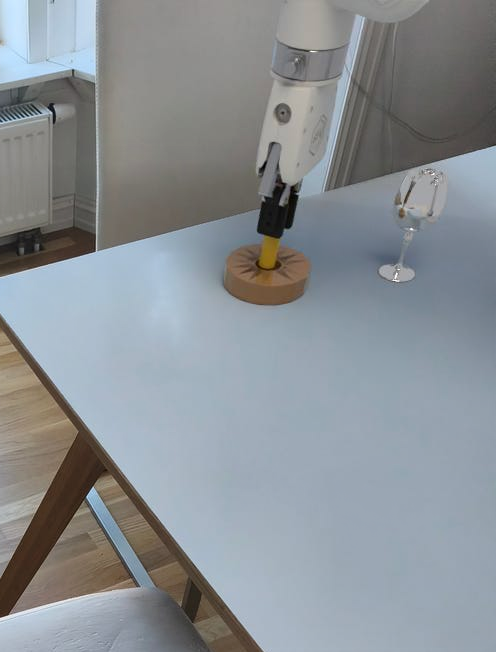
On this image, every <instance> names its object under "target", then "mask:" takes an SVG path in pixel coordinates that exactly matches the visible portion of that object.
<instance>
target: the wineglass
mask: <svg viewBox="0 0 496 652" xmlns="http://www.w3.org/2000/svg"><path fill="white" fill-rule="evenodd" d="M448 185H449V176H448V175H447V174H446V173H445V172H444V171H442V170H439V169H437V168H432V167H431V168H430V167H415V168H412V169H410V170H408V172H407V173H406V175H405V177H404V178H403V180H402V182H401V184H400V186H399V187H398V190H397V192H396V195H395V197H394V200H393V203H392V209H391V217H392V220H393V222H394V224H395V225H396V226H397V227H398V228H399V229H400V230H403V231H405V232H406V233H404V236H403V237H402V238H403V239H402V249H401V253H400V256H399V258H398V261H397V263H386V264H383V265H381V266H380V267H379V269H378V274H379V275H380V277H382V278H383V279H385V280H388V281H390V282H395V283H405V282H411V281H412V280H413V279H414V278H415V277H416V272H415V270H414V269H413V268H411V267H410V266H408V265H404V263H403V261H404V258H405V254H406V251H407V249H408V248H409V245H410V243H412V241H413V237H414V234H413V233H419V232H424V231H427V230H429V229H431V228H432V227H434V225H435V224H436V223H437V222H438V221H439V219H440V218H441V216H442V213H443V211H444V208H445V205H446V201H447V196H448Z"/></svg>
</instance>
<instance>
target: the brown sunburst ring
mask: <svg viewBox="0 0 496 652" xmlns="http://www.w3.org/2000/svg"><path fill="white" fill-rule="evenodd" d="M262 244H263V243H253V244H248V245H243V246H240V247H238V248H236V249H234V250H233V251H231V252H230V253H229V255H228V256H227V257H226V259H225V263H224V270H223V275H222V276H223V277H222V278H223V280H222V284H223V286H224V288H225V290H226V291H227V292H228V293H229V294H230V295H231V296H232V297H235V298H236V299H239V300H240V301H243V302H246V303H249V304H254V305H261V306H278V305H284V304H288V303H291V302H294V301H296V300H297V299H300V298H301V297H302V296H303V295H304V294H305V292H306V290H307V288H308V285H309V281H310V277H311V273H312V266H311V265H312V264H311V261H310V259H309V258H307V257H306V255H304V254H303V253H302V252H300V251H298V250H297V249H294V248H291V247H289V246H285V245H280V244H279V248H278V252H277V257H276V262H275V266H274V267H273V268H270V269H265V268H262V267H260V266H259V259H260V254H261V249H262Z"/></svg>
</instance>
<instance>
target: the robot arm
mask: <svg viewBox="0 0 496 652" xmlns="http://www.w3.org/2000/svg"><path fill="white" fill-rule="evenodd" d="M428 2H430V0H281V7H280V11H279V18H278V22H277V23H278V24H277V29H276V34H275V40H274V47H273V52H272V59H271V64H270V70H269V75H270V76H271V78H272V79H274V80H273V84H272V88H271V90H270V95H269V99H268V104H267V107H266V111H265V116H264V119H263V124H262V129H261V133H260V137H259V143H258V148H257V153H256V154H257V155H256V161H255V162H256V163H255V170H254V171H255V175H256V177H257V178H258V179H261V181H260V184H259V187H258V191H257V195H259V196H261V199H260V200H261V201H260V202H261V204H260V210H259V215H258V221H257V225H256V233H257V234H259V235H262V236H264V235H266V236H269V237H273V238H276V239H280V240H281V239H282V237H283V236H284V233H285V232H284V231H285V230H290V229H291V228H292V227H293V225H294V219H295V216H296V212H297V206H298V202H299V196H300V194H299V193H300V192H301V189H302V187H303V182H304V178H305V177H306V176H307V175H308V174H309V173H311V171H312V170H314V168H316V167H317V165H319V164H320V163H321V162H322V160H323V159H324V158H325V155H326V152H327V147H328V143H329V139H330V132H331V127H332V122H333V116H334V111H335V107H336V100H337V93H338V86H339V81H340V80H341V79H342V76H343V72H344V68H345V64H346V59H347V55H348V51H349V47H350V43H351V38H352V35H353V30H354V25H355V20H356V17H357V15H358V16H360V17H363V18H364V19H368V20H371V21H374V22H378V23H382V24H392V23H398V22H401V21H404V20H406V19H408V18H410V17H412V16H413V15H415V14H416V13H417V12H418V11H420V10H421V9H422V8H423V7H424V6H425V5H426V4H427V3H428ZM275 183H278V184H282V185H283V186H282V191H281V188H280V187H279V186H275ZM290 186H291V188H290ZM289 190H290V195H289V200H288V204H286V203H287V199H288V194H289Z"/></svg>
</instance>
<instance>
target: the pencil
mask: <svg viewBox="0 0 496 652" xmlns="http://www.w3.org/2000/svg"><path fill="white" fill-rule="evenodd" d="M275 186H279V187H280V188H281V191H282V186H283V185H282V184H278V183H275ZM290 188H291V186H290ZM289 195H290V190H289V194H288V199H287V203H286V204H288V200H289ZM280 242H281V238H280V239H276V238H273V237H269V236H266V235H263V239H262V243H261V244H262V249H261V254H260V259H259V266H260V267H262V268H265V269H270V268H273V267H274V266H275V262H276V257H277V252H278V248H279V245H280Z"/></svg>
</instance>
